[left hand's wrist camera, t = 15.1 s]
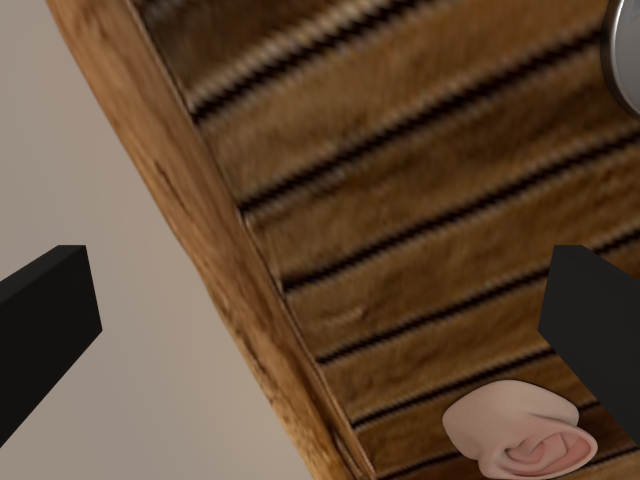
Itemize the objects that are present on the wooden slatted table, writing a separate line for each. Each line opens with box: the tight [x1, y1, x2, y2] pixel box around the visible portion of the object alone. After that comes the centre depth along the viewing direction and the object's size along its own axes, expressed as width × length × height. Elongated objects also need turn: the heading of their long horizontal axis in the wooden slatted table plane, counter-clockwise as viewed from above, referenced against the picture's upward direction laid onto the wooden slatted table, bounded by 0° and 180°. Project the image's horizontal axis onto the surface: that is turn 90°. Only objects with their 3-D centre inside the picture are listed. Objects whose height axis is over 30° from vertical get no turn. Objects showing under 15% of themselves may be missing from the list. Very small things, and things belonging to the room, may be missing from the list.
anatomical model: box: [442, 380, 598, 480], centre depth 44 cm, size 13×4×12 cm
